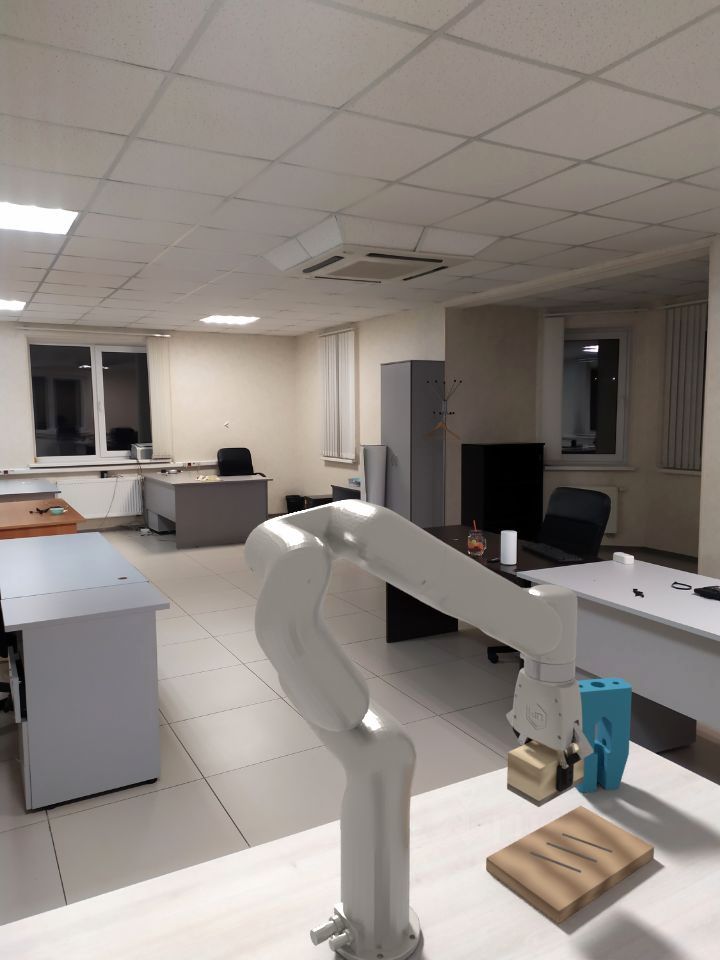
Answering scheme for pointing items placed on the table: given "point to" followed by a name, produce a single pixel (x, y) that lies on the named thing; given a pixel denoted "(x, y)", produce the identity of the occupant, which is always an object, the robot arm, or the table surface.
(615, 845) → the oak board
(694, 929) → the table surface
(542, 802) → the block
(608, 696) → the block
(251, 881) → the table surface
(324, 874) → the table surface
